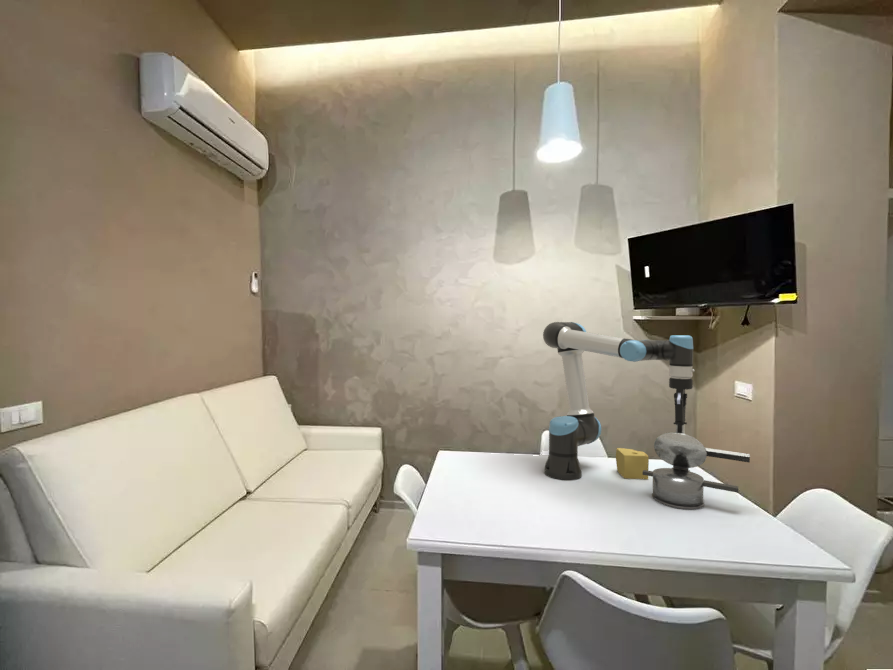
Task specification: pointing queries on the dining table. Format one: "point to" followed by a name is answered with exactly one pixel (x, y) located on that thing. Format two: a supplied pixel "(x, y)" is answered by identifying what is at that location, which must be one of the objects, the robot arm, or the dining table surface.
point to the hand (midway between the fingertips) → (679, 442)
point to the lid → (689, 451)
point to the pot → (681, 488)
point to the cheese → (631, 463)
